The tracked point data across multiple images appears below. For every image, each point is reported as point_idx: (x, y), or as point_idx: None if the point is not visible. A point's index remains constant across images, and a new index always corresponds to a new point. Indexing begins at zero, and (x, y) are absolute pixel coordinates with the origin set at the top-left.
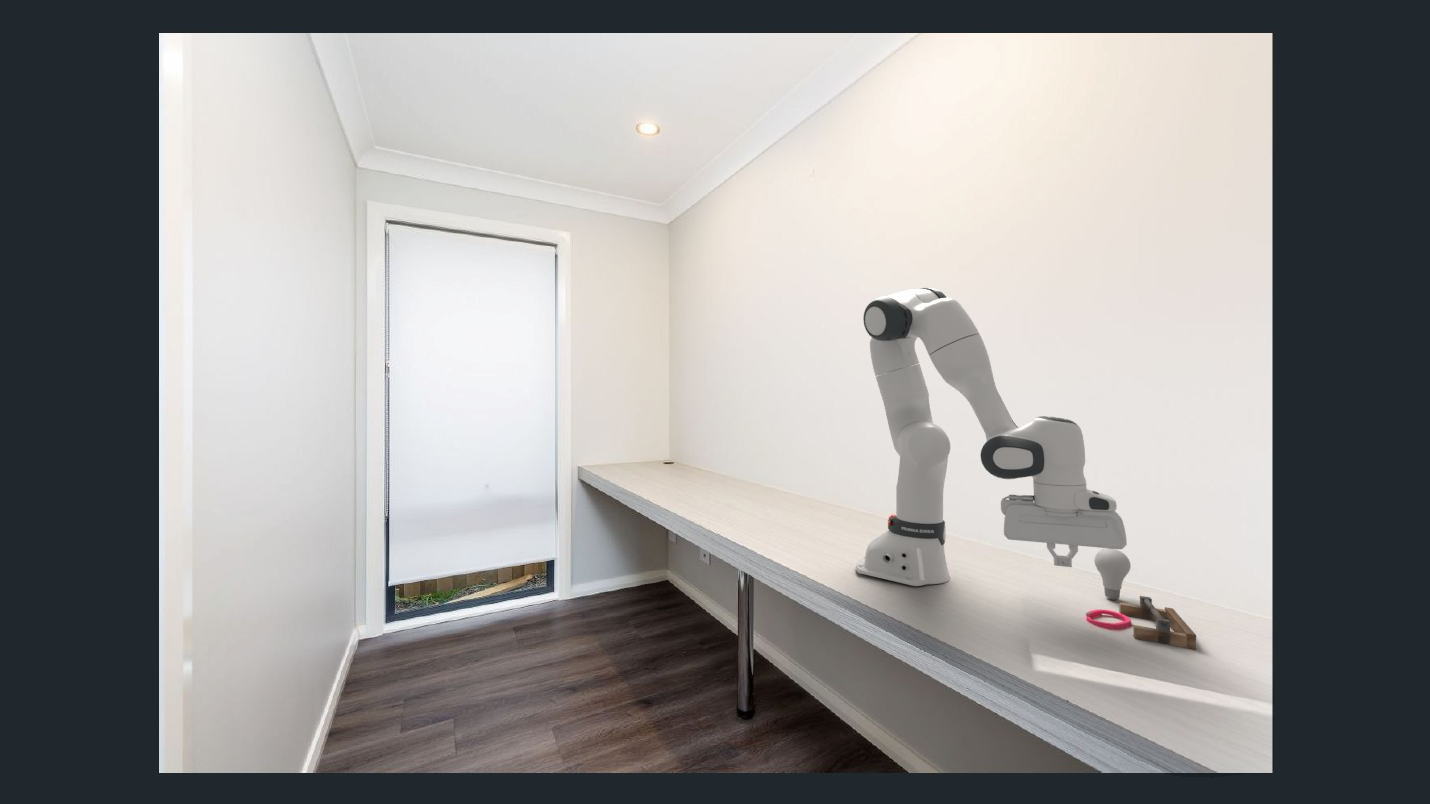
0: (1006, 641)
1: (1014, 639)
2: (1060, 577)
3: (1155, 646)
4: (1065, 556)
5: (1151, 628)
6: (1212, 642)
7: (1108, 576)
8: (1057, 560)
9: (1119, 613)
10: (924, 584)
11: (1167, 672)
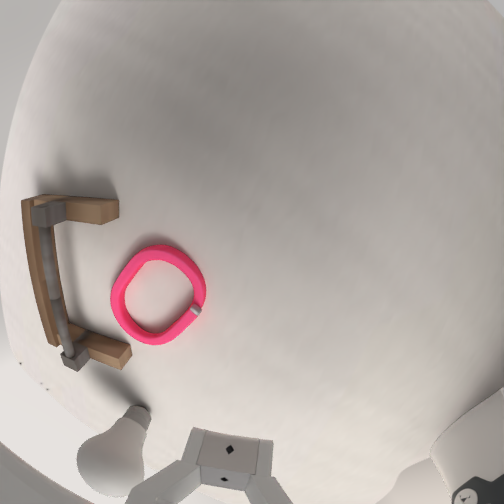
0: (454, 55)
1: (438, 68)
2: None
3: (92, 170)
4: (207, 481)
5: (73, 215)
6: None
7: (125, 441)
8: (255, 460)
9: (127, 330)
10: None
11: (118, 32)
